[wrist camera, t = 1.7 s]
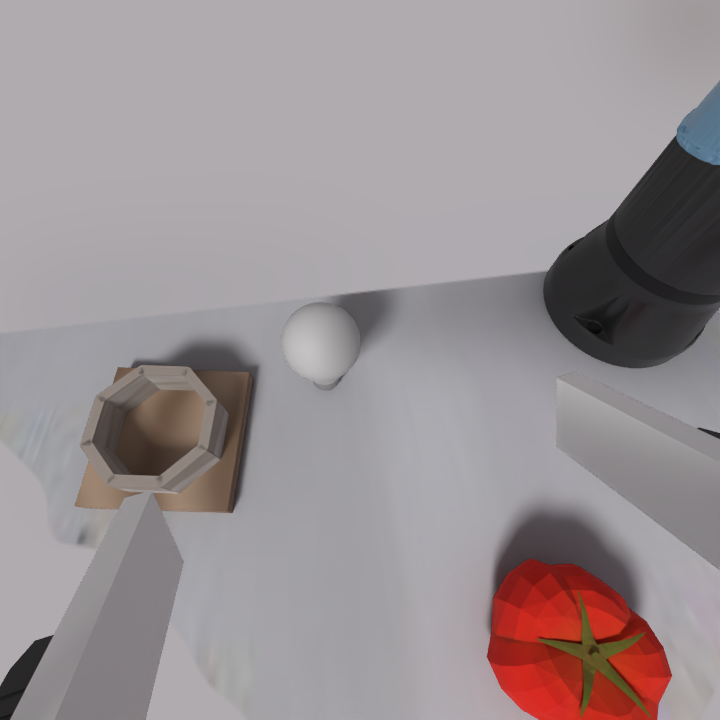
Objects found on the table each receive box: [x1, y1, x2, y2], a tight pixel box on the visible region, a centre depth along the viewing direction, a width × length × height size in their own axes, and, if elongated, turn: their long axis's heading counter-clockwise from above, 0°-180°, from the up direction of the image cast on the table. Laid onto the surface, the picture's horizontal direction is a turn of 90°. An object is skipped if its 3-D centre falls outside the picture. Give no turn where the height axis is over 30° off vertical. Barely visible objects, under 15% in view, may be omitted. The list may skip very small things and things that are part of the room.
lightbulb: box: [281, 302, 361, 390], centre depth 33 cm, size 6×6×11 cm
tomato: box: [487, 558, 672, 720], centre depth 27 cm, size 10×11×6 cm
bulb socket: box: [75, 365, 253, 513], centre depth 33 cm, size 12×12×5 cm
